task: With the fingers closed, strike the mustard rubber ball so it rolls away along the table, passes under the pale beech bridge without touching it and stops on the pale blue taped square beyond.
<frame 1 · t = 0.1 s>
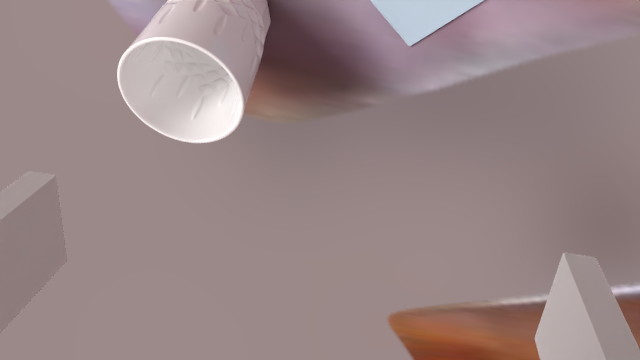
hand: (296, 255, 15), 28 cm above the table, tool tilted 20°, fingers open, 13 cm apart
white cup: (226, 9, 43), on the table
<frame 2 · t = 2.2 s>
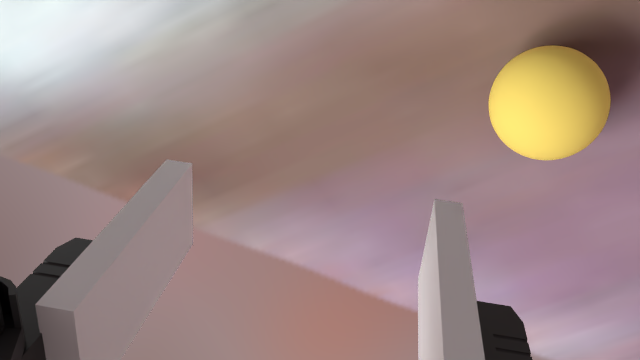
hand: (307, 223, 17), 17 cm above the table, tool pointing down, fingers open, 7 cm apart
ball: (547, 103, 29), on the table
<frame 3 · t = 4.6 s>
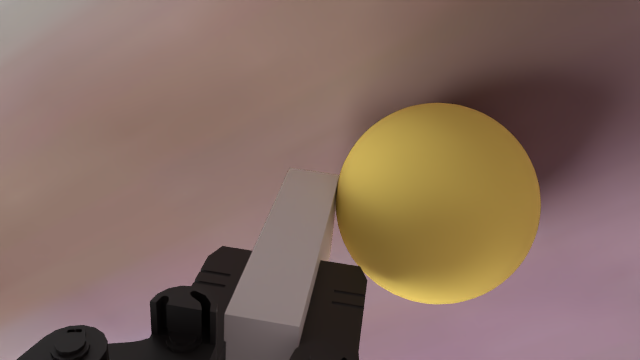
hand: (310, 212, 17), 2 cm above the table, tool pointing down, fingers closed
ball: (434, 202, 16), on the table, touching gripper
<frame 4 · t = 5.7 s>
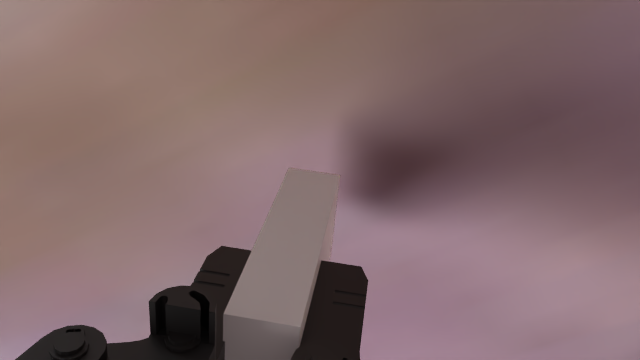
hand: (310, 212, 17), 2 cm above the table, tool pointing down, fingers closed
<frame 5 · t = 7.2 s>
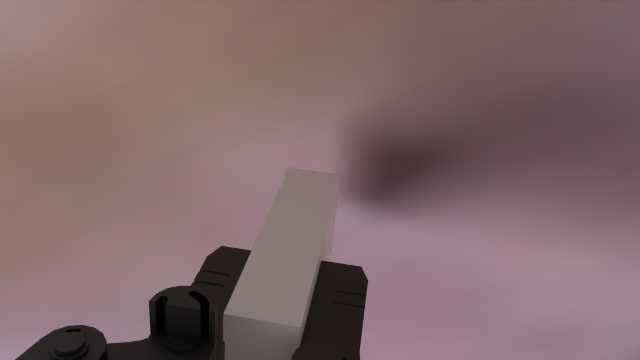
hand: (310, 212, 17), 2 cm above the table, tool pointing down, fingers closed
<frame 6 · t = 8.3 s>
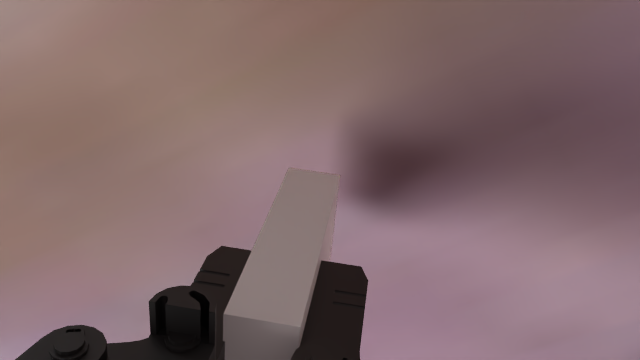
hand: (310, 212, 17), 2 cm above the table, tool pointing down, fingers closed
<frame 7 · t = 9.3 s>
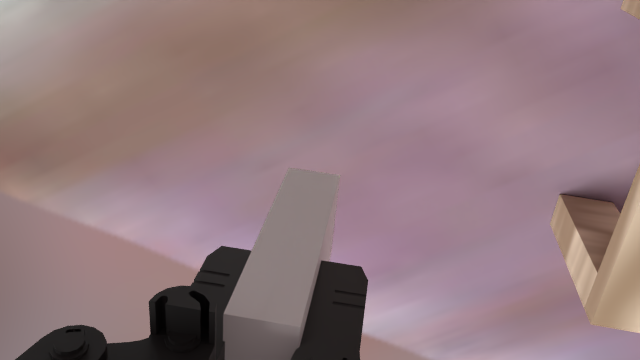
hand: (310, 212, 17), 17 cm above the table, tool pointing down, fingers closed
bridge: (616, 112, 32), on the table
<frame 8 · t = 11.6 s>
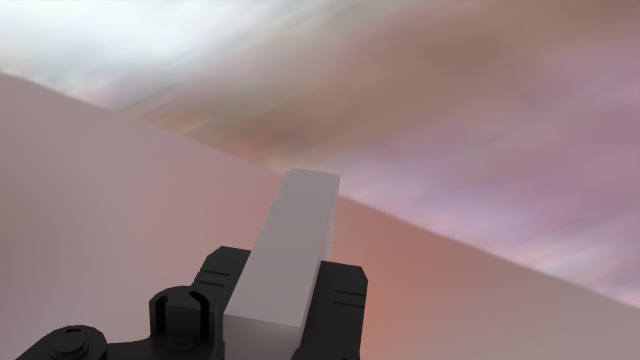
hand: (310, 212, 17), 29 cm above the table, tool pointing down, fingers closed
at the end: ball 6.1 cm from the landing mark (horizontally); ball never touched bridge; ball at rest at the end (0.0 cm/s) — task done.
